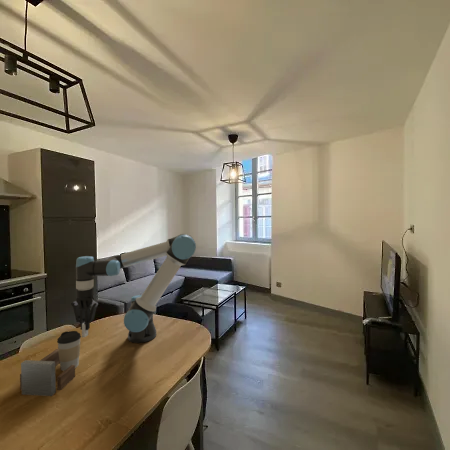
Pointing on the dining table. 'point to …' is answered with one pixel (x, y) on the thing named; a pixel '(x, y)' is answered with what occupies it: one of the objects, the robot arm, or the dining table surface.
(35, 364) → the grey bookend
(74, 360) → the coffee cup
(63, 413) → the dining table surface
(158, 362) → the dining table surface
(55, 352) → the walnut shelf wall
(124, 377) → the dining table surface
